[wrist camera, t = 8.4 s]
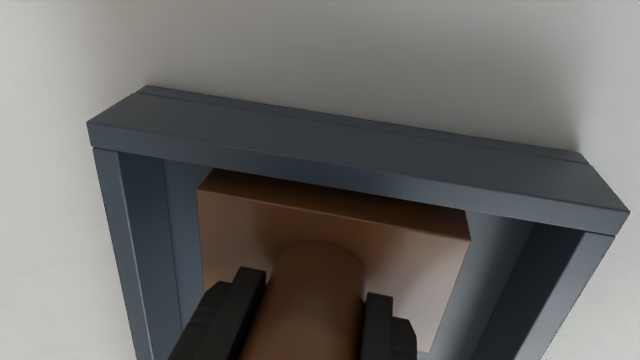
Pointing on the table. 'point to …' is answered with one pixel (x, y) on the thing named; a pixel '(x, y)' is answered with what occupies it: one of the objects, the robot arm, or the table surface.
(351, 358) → the rubber stamp
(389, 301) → the robot arm
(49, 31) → the table surface
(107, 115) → the tray
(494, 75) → the table surface
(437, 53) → the table surface
